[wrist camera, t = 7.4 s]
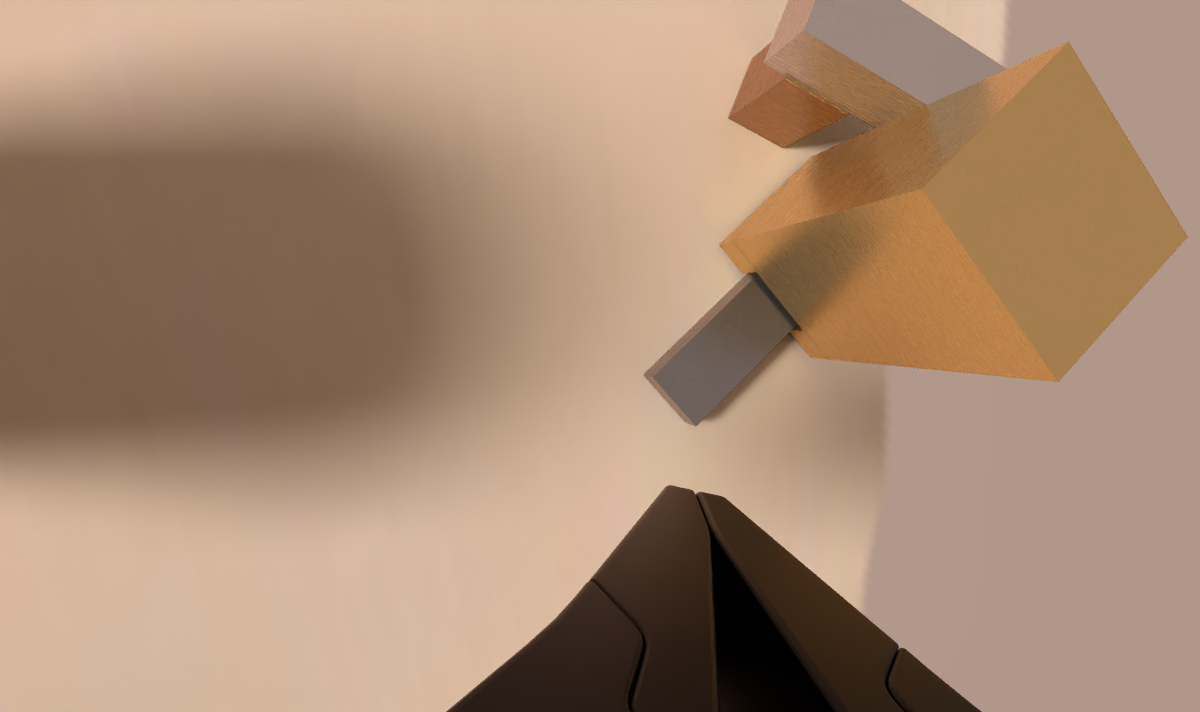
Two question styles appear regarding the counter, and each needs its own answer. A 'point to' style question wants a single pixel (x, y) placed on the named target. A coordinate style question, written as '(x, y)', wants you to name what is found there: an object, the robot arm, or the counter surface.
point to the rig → (792, 111)
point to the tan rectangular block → (967, 230)
